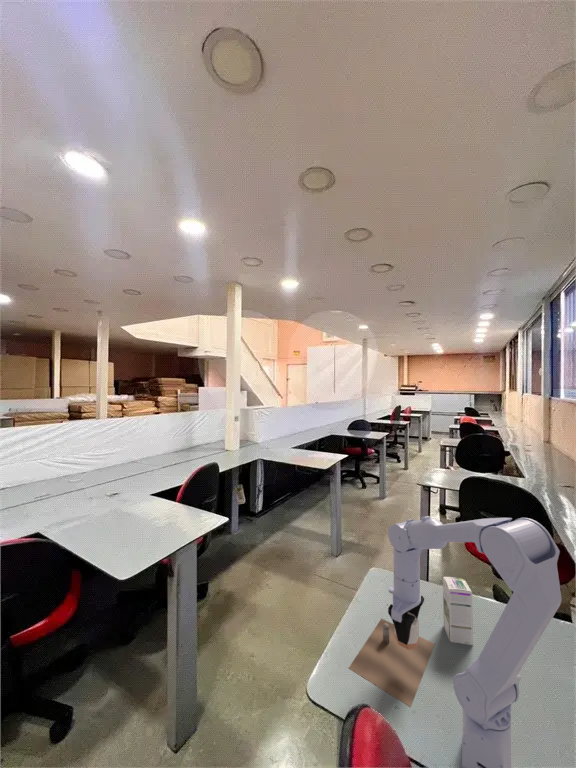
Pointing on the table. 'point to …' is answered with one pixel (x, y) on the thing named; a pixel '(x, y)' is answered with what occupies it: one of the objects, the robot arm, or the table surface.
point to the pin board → (392, 663)
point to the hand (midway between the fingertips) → (406, 634)
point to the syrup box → (458, 610)
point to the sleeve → (411, 636)
